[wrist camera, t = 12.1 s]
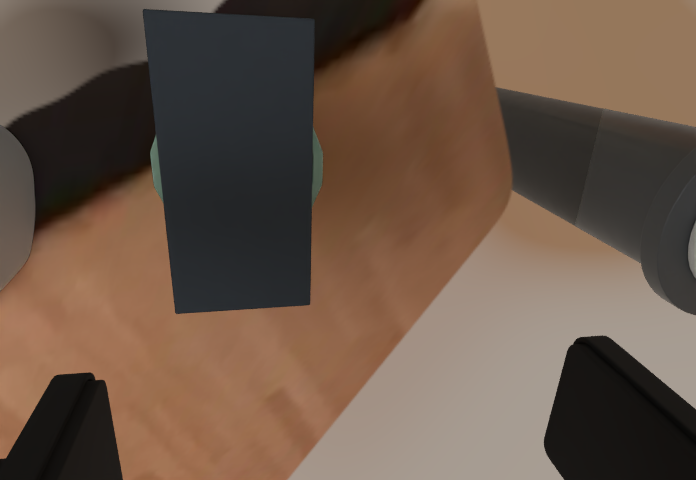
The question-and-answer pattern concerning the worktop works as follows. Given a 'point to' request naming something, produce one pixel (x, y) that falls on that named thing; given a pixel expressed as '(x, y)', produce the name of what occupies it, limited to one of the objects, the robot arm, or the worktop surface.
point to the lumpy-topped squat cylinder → (15, 206)
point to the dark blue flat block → (234, 155)
